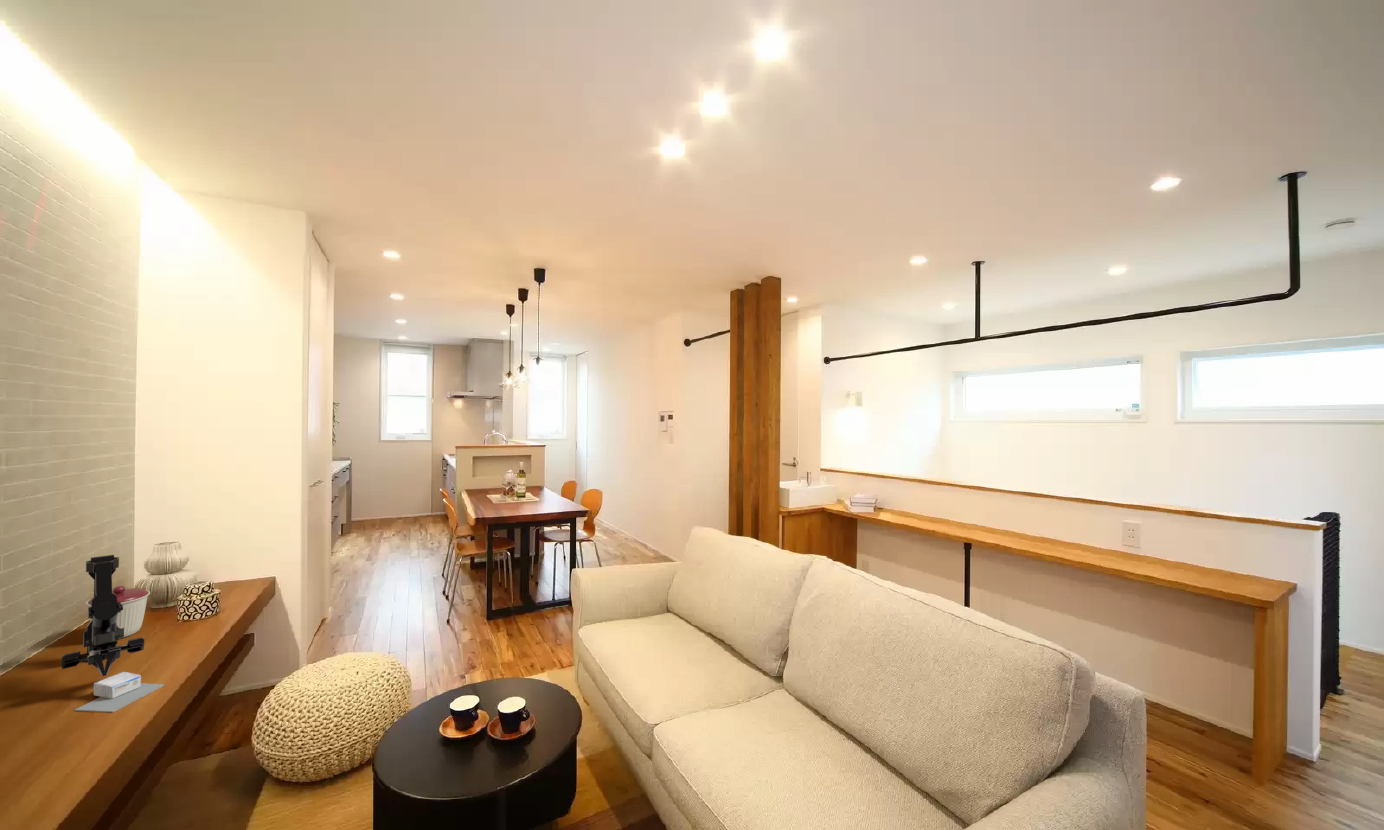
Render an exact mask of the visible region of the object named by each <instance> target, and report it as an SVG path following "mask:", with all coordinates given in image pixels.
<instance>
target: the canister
mask: <svg viewBox="0 0 1384 830" xmlns="http://www.w3.org/2000/svg"><path fill="white" fill-rule="evenodd" d="M112 593H113V594H115V595H116V596H117V602H120V603H121V604H122V605H123V610H121V612H120V613H118V617H117V621H116V625H117V626H118V627H119V628H120V629H121V628H124V637H123V638H126V637H129V636H132V635H134V634H135V633H137V632H138V631H140V629H141V628H142V626H143V621H144V618H145V614H146V613H145V611H146V607H147V602H148V596H149V595H150V594H151V591H150V590H148V589H144V588H140V587H138V588H137V587H136V588H132V587H131V588H130V587H129V588H126V586H123V585H117V586H116V587H114V588H112ZM93 598H94V596H93V597H92V598H89V599H88V600H86V601H85V605H86V606H87V608H88V607H91V601H92V599H93ZM91 620H92V619H91V618H89V622H90V621H91ZM120 639H121V638H119V640H120Z"/></svg>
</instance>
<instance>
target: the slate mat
mask: <svg viewBox="0 0 1384 830" xmlns="http://www.w3.org/2000/svg"><path fill="white" fill-rule="evenodd" d="M163 687H165V684H163V683H161V684H160V683H144V682H143V683H142V682H141V687H139V688H137V689H134V690H132V691H130V692H127V693H125V694H122V695H120V696H118V697H115V698H113V699H110V698H105V697H100V696H99V697H98V698H96V699H94V700H92V701H90V702H88V703H85V704H84V705H82V706H79V707H77V708H75V709H74V712H89V713H90V712H91V713H92V712H95V713H112V714H113V713H116V711H119V710H121V709H123V708H124V707H126V706H129V705H131V704H132V703H134V702H136V701H137V700H140V699H142V698H143V697H145V696H147V695H149V694H152V693H153V692H155V691H157V690H159V689H161V688H163Z"/></svg>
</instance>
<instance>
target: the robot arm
mask: <svg viewBox="0 0 1384 830" xmlns="http://www.w3.org/2000/svg"><path fill="white" fill-rule="evenodd" d="M119 565H120V557H119V556H115V554H110V555H109V554H108V555H99V556H94V557H93V556H91V557H90V560H86V561H85V572H86V573H87V574H88V576H90V578H92V580H93V597H94V598H93V597H92V598H93V599H92V601H91V607H88V606H87V619H90V618H91V619H92V620H91V621H90V620H89V623H88V624H87V625H86V630H84V631H83V637H82V638H83V639H82V645H83V646H82V647H83V649H84V648H86V652H85V653H81V650H78V651H73V652H69V653H64V654H63V655H62V656H61V669H62V670H64V669H69V668H73V667H77V666H79V664H80V663H81V662H87V665H88V666H93V667H94V668H96V669H97V671H98V672H99V673H100V675H101V676H102V677H106V676H107V675H108V673H109V670H110V669H111V666H112V665H113V664H114V662H115V660H117V659H120V658H121V652H123V651H126V652H127V653H129V654H135V653H137V652H138V653H139V652H142V651H144V647H145V638H144V637H142V636H141V637H137V638H133V639H132V638H131V639H128V640H127V644H121V645H118V639H119V638H120V639H123V638H125V637H124V628H121V629H120V628H119V627H118V626H117V625H116V621H117V617H118V613H120V612H121V610H123V605H122V604H121V603H120V602H117V596H116V595H115V594H113V593H112V591H113V574H114V573H115V572H116V571H117V568H120V566H119ZM120 639H119V640H120ZM103 660H106V662H105V665H104V661H103Z"/></svg>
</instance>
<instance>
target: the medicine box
mask: <svg viewBox="0 0 1384 830" xmlns="http://www.w3.org/2000/svg"><path fill="white" fill-rule="evenodd" d="M141 683H142V675H140V674H137V673H133V672H127V671H122V672H119V673H117V674H114V675H112V676H109V677H106V678H104V679H101V680H99V681H96V682H94V683H93V696H97V697H99V698H100V697H105V698H110V699H113V698H115V697H118V696H120V695H122V694H125V693H127V692H130V691H132V690H134V689H137V688H139V687H141Z"/></svg>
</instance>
